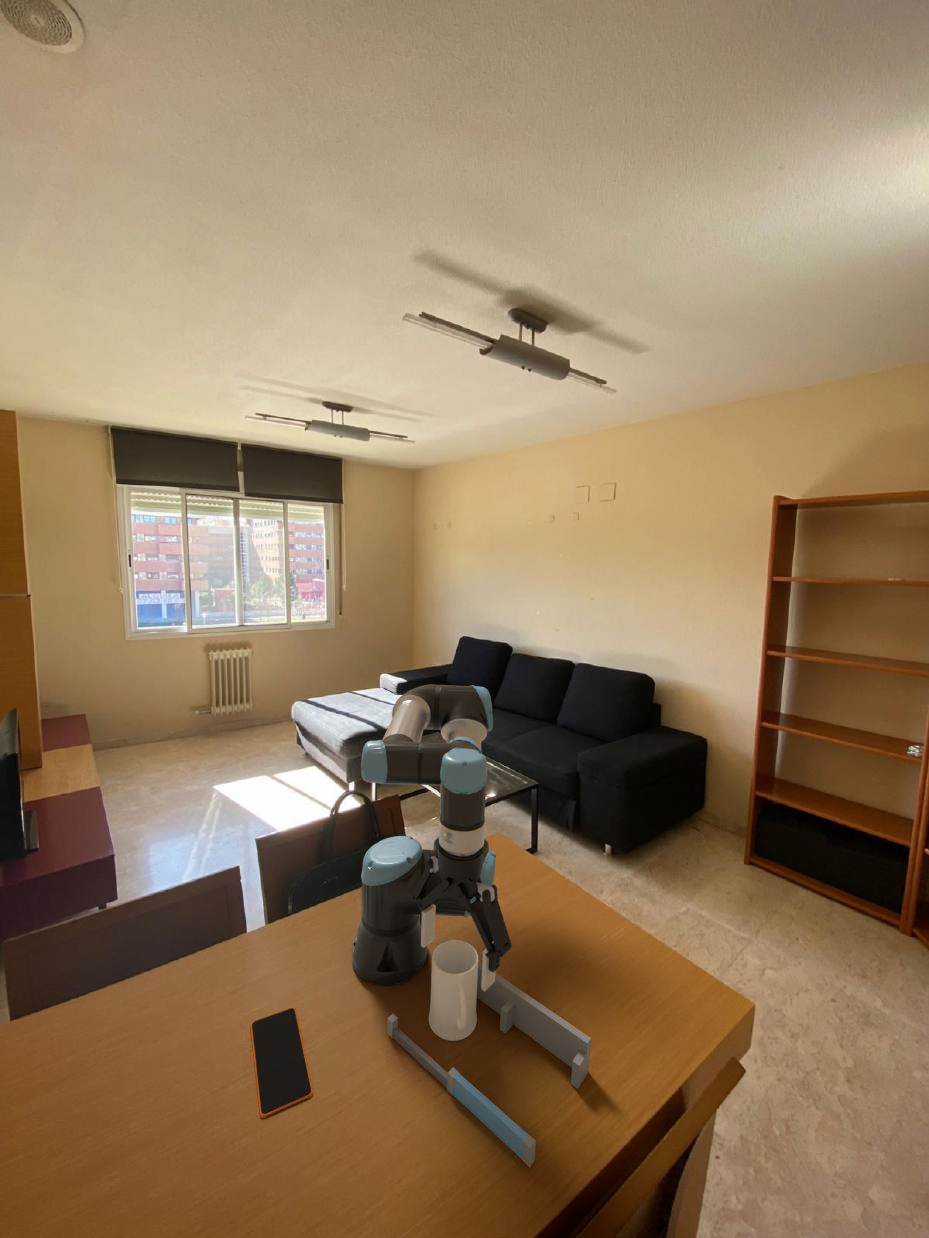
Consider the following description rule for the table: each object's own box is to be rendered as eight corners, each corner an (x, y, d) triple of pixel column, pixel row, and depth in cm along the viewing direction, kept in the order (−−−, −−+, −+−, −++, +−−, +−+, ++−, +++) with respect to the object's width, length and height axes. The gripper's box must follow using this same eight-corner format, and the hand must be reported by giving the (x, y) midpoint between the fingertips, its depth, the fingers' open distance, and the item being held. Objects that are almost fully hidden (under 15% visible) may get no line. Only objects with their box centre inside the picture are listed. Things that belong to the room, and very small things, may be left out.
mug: (484, 1057, 82) (487, 990, 81) (431, 1062, 81) (434, 994, 80) (472, 996, 94) (475, 936, 92) (427, 999, 93) (429, 939, 91)
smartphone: (260, 1122, 72) (260, 1116, 72) (250, 1026, 86) (249, 1021, 86) (314, 1097, 75) (314, 1092, 75) (295, 1009, 90) (295, 1005, 90)
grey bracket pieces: (387, 1034, 86) (388, 1001, 85) (454, 973, 99) (455, 945, 98) (529, 1167, 67) (532, 1128, 67) (588, 1071, 80) (590, 1037, 80)
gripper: (393, 826, 89) (390, 937, 91) (509, 887, 73) (503, 1021, 75) (423, 811, 94) (420, 916, 96) (537, 865, 78) (530, 990, 81)
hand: (456, 962), depth 86 cm, fingers open, 13 cm apart
